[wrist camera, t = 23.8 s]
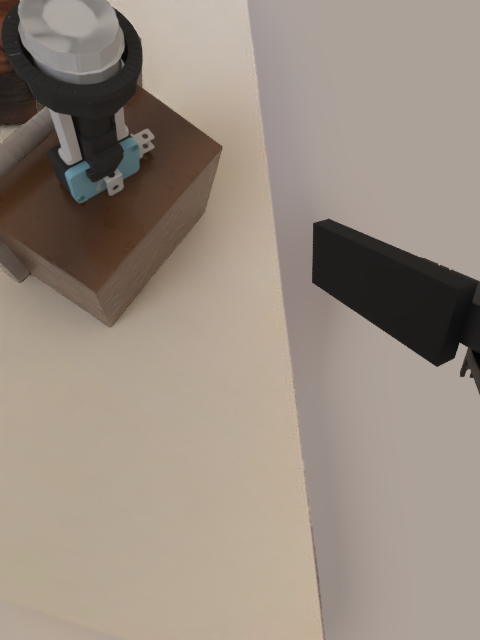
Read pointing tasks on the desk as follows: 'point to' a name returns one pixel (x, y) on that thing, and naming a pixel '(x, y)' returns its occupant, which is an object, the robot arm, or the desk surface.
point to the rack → (103, 209)
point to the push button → (81, 86)
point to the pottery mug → (13, 84)
